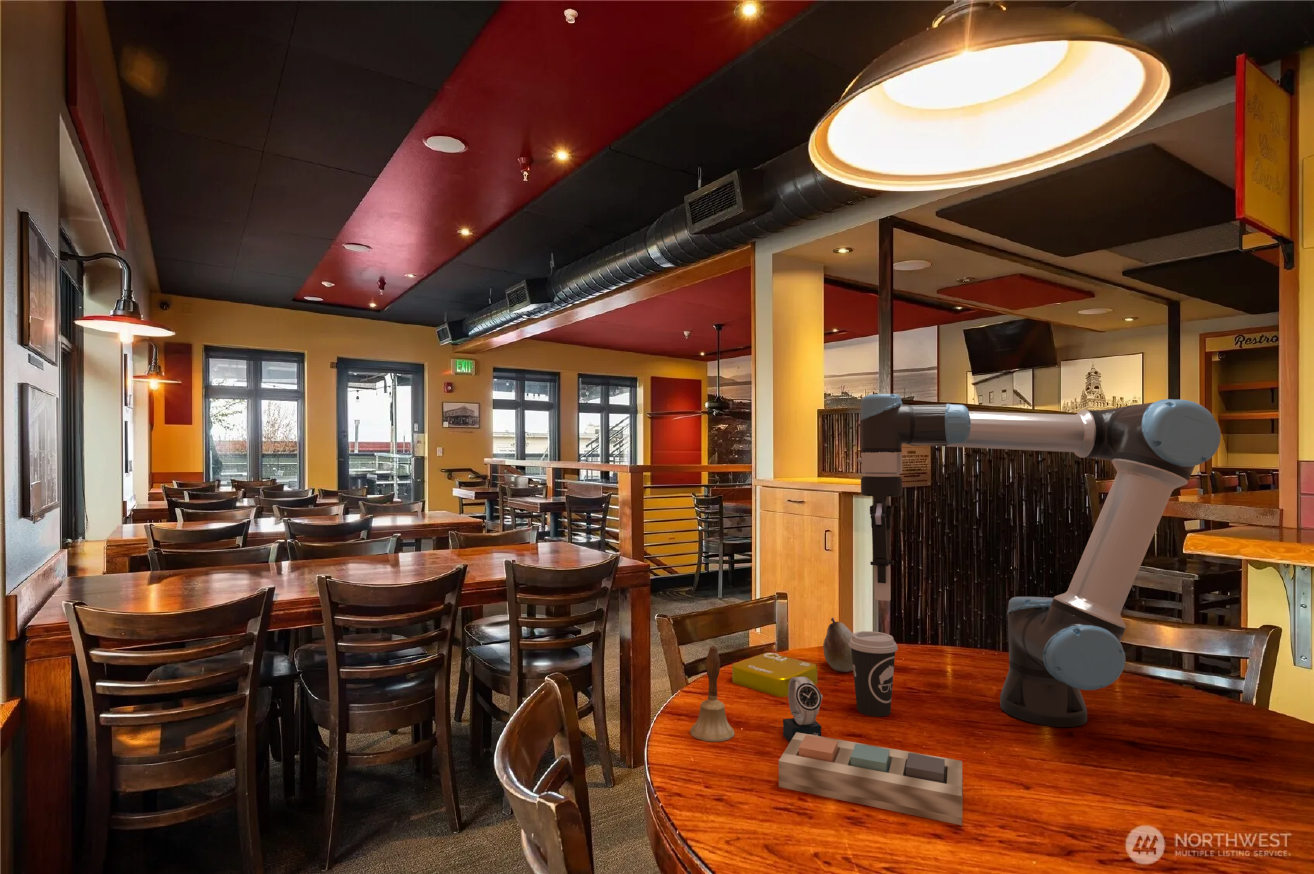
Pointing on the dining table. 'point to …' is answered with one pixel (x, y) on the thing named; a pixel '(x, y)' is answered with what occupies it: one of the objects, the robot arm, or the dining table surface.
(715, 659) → the hand bell
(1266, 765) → the dining table surface
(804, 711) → the watch
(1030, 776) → the dining table surface
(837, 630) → the fruit
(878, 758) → the teal button
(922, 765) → the charcoal button
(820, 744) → the terracotta button
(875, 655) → the coffee cup
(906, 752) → the button panel
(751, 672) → the element tile
